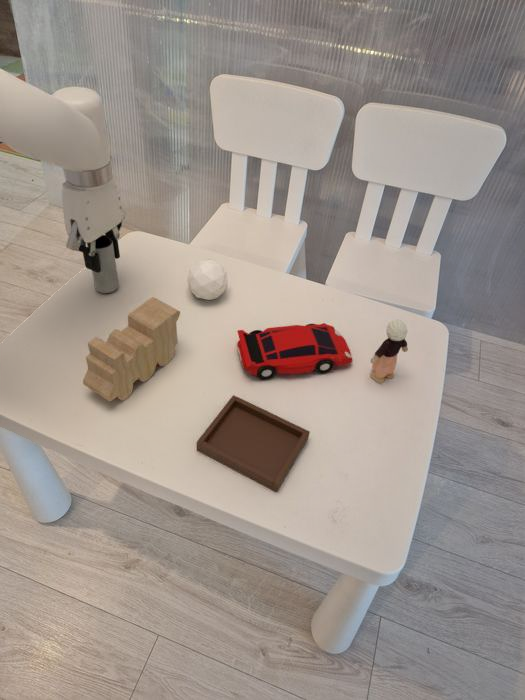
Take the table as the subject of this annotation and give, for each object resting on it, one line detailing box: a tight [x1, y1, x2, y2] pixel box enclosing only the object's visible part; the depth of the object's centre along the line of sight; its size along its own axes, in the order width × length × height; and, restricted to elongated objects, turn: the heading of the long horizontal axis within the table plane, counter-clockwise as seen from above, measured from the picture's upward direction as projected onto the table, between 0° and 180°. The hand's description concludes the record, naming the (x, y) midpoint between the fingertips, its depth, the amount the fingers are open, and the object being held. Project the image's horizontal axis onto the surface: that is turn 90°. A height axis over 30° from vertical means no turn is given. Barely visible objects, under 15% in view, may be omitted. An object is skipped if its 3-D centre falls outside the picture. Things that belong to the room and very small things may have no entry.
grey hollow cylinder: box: [86, 234, 120, 294], centre depth 99 cm, size 4×4×10 cm
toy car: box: [236, 322, 353, 381], centre depth 92 cm, size 10×20×5 cm, turn 106°
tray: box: [195, 394, 311, 493], centre depth 79 cm, size 14×11×2 cm
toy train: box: [82, 296, 181, 402], centre depth 85 cm, size 6×17×10 cm, turn 146°
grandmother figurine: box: [369, 319, 409, 384], centre depth 87 cm, size 8×4×13 cm, turn 131°
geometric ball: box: [187, 259, 229, 301], centre depth 101 cm, size 8×8×8 cm
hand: (103, 261), depth 99 cm, fingers closed on grey hollow cylinder, 4 cm apart
